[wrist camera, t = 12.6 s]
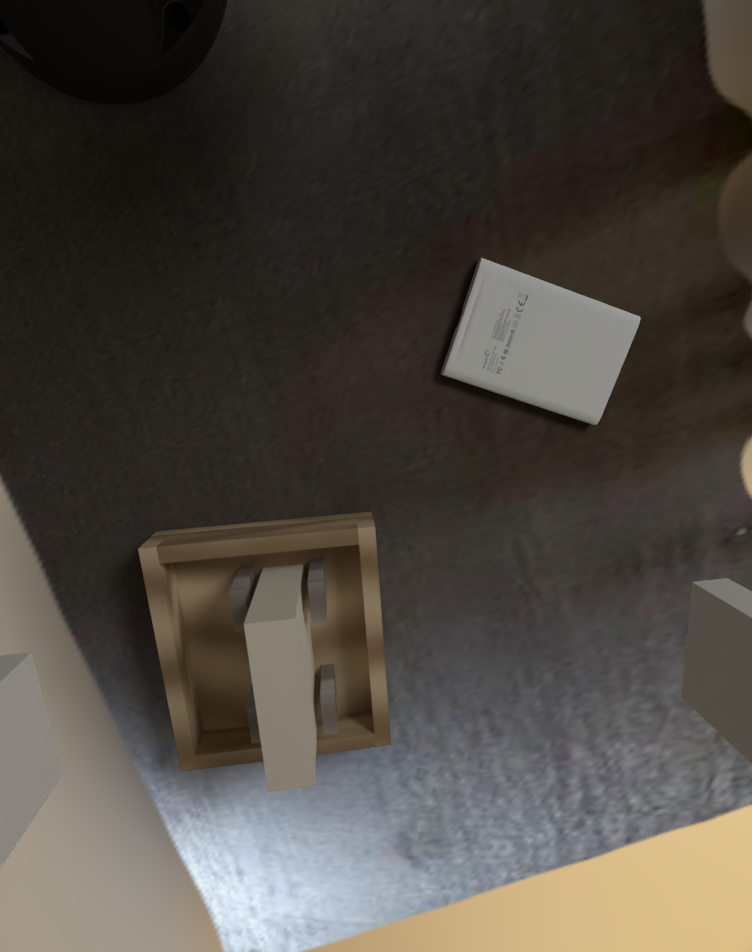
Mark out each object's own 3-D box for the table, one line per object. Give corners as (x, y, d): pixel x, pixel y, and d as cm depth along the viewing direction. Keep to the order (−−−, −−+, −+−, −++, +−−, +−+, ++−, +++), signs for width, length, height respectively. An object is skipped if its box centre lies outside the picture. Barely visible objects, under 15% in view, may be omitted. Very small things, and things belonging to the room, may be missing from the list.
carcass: (156, 531, 36) (128, 557, 31) (371, 511, 37) (376, 534, 32) (194, 736, 40) (175, 788, 35) (385, 713, 41) (393, 760, 36)
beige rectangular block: (262, 568, 36) (243, 624, 28) (303, 564, 36) (295, 618, 29) (280, 706, 39) (267, 791, 31) (318, 701, 39) (314, 785, 31)
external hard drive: (586, 423, 38) (438, 374, 36) (629, 318, 36) (476, 260, 34) (598, 426, 36) (443, 374, 34) (643, 316, 34) (483, 256, 32)
